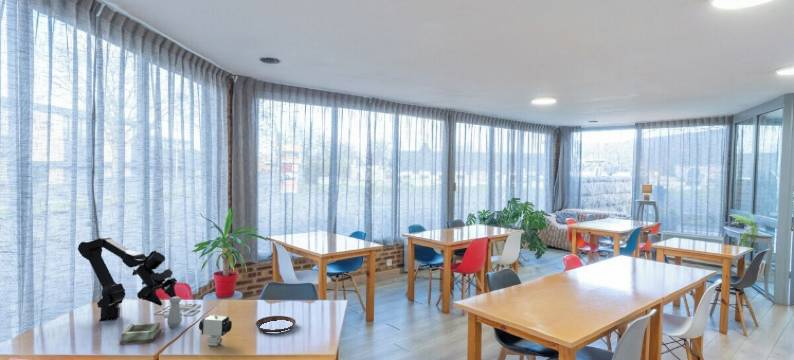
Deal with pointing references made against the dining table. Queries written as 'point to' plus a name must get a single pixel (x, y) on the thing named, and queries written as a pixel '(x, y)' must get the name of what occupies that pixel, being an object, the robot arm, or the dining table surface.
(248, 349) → the dining table surface
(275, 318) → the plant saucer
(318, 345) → the dining table surface
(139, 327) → the holder
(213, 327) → the pneumatic valve
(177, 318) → the grey round-headed cylinder
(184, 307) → the floor plan model
